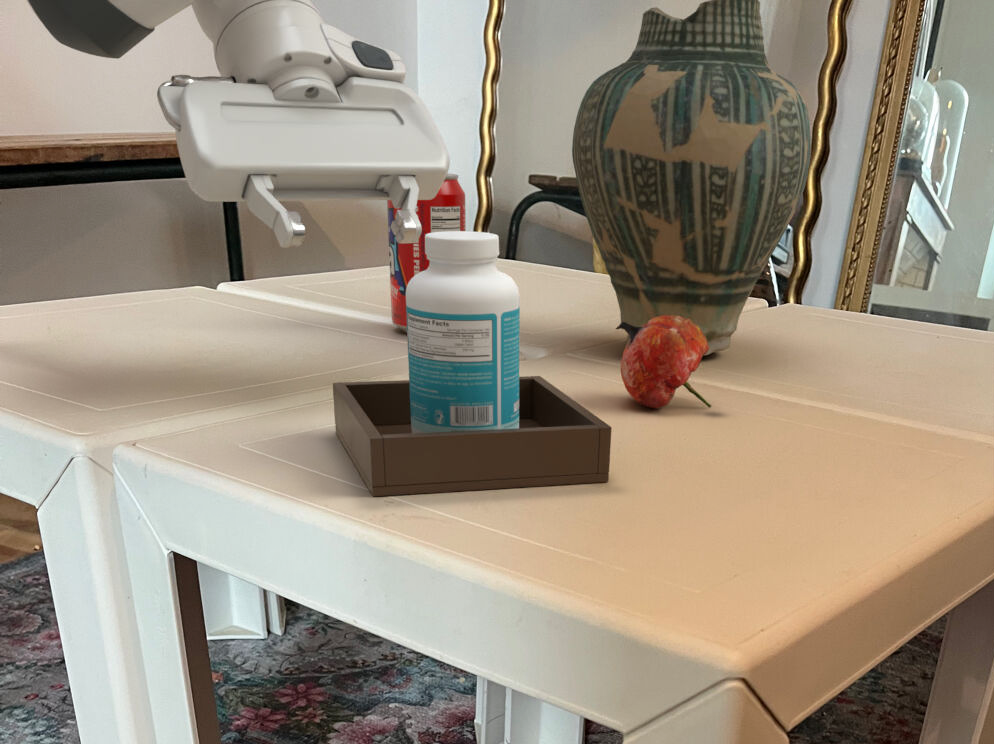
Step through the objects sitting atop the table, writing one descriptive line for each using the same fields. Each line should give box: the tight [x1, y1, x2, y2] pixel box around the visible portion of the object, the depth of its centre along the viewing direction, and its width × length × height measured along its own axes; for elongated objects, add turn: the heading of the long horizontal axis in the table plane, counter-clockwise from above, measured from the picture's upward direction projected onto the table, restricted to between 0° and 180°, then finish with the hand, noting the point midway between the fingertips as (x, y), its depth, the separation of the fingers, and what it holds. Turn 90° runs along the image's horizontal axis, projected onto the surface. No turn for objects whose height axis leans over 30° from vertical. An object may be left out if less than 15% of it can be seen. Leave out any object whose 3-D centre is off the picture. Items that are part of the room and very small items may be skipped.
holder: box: [332, 375, 613, 497], centre depth 77 cm, size 16×16×4 cm
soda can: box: [386, 172, 466, 333], centre depth 116 cm, size 8×8×15 cm
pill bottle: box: [406, 230, 521, 433], centre depth 74 cm, size 8×7×14 cm
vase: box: [571, 0, 812, 356], centre depth 106 cm, size 22×22×30 cm
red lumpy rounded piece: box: [615, 315, 712, 409], centre depth 92 cm, size 7×7×10 cm
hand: (354, 239), depth 82 cm, fingers open, 8 cm apart
